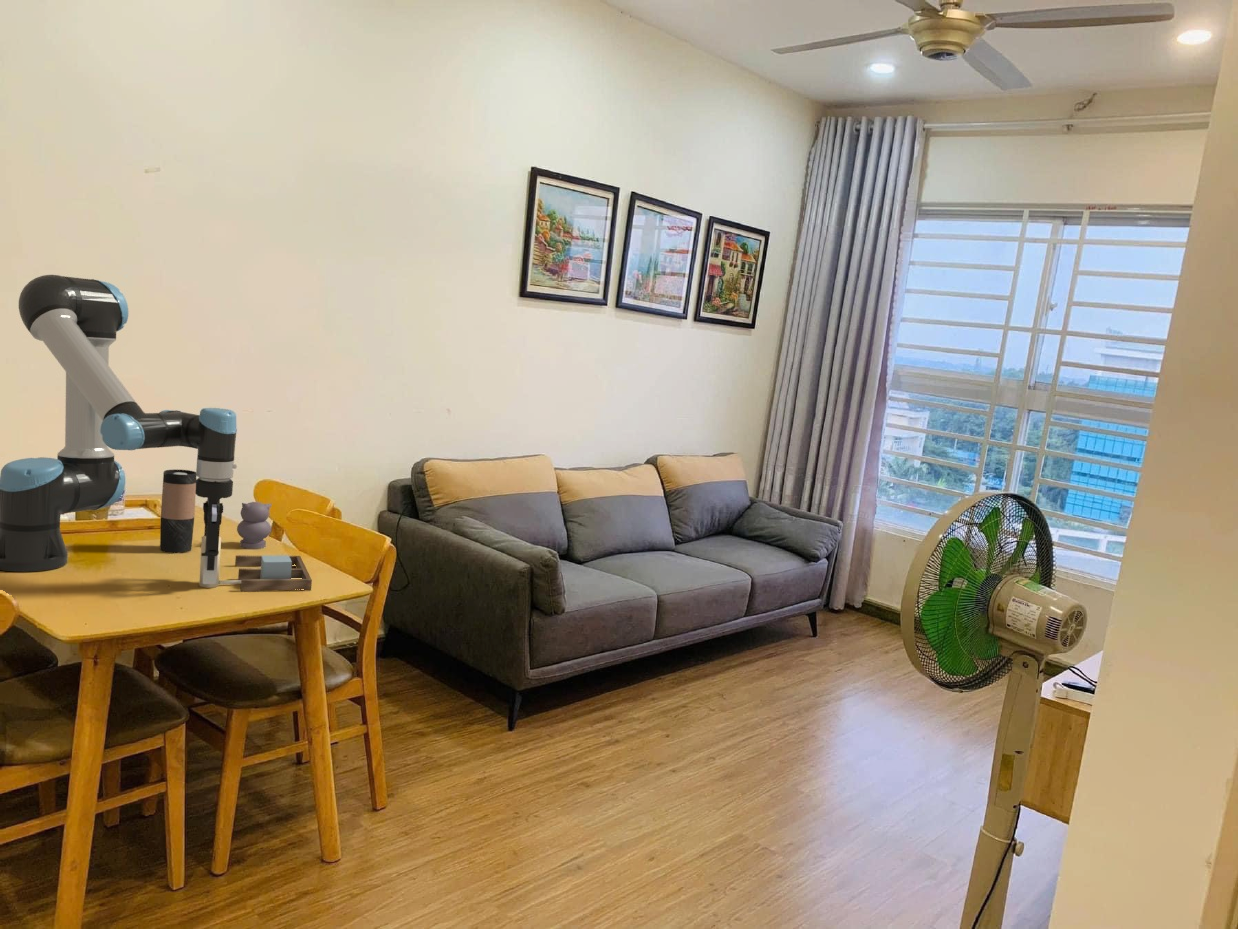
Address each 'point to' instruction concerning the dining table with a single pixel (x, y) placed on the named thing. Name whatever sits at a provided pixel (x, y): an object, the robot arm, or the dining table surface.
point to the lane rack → (254, 583)
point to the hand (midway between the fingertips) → (208, 580)
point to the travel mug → (177, 511)
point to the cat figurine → (254, 525)
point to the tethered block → (269, 567)
